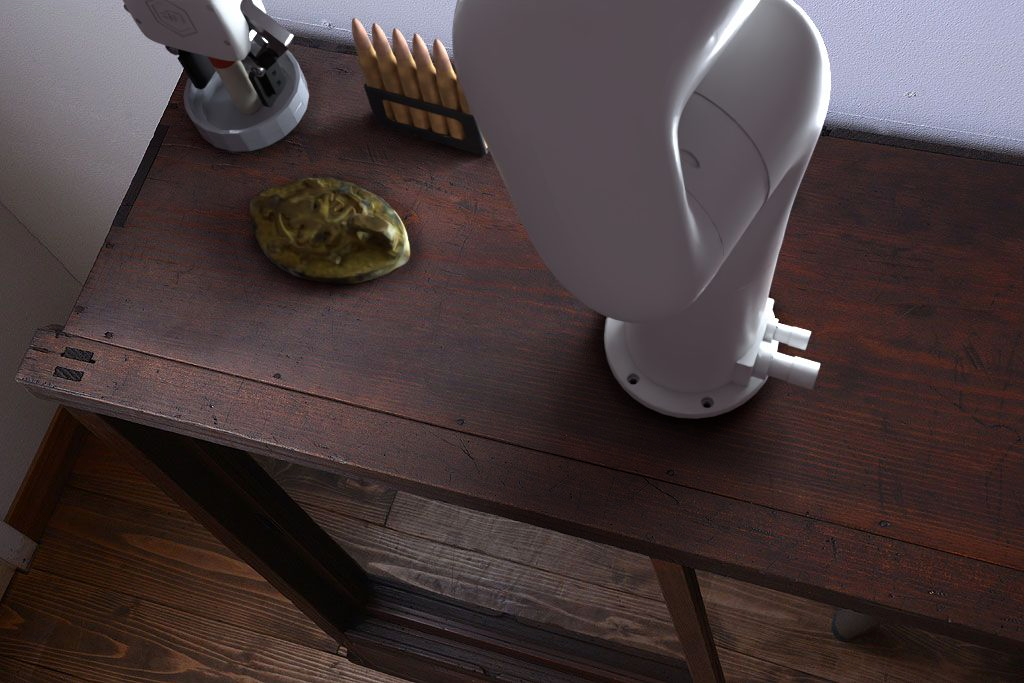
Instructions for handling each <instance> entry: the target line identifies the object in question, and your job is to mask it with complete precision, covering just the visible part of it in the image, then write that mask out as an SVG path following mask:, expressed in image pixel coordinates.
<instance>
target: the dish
mask: <svg viewBox="0 0 1024 683" xmlns="http://www.w3.org/2000/svg"><path fill="white" fill-rule="evenodd" d="M260 49H261V48H260V47H259V46H258V44H257V43H256V42H255V41H254V40H252V42H251V49H250V51H251V52H252V54H253V55H254V56H255V57H256V55H257V54H258V52H259V50H260ZM277 61H278V63H279V65H280V67H281V69H282V72H283V74H284V76H285V78H286V84H285V88H284V90H283V91H282V93H281V94H280V95H279V96H278V97H277V99H276V101H275V102H274V104H273V106H272V107H271V108H269V107H265V106H264V105H263V104H261V107H260V109H259V110H258V111H257V112H255V113H253V114H250V115H245V114H242V113H241V112H240V111H239V110H238V108H237V107H236V105H235V103H234V101H233V99H232V98H231V96H230V94H229V92H228V91H227V89H226V87H225V85H224V84H223V82H222V80H221V78H220V77H219V75H218V73H217V71H216V72H215V73H214V75H213V76H212V78H211V79H210V81H209V82H208V84H207V85H206V87H205V88H203V89H202V90H201V89H197V88H195V86H194V85H193V83H192V81H191V80H190V78H189V77H188V78H187V80H186V84H185V87H184V92H183V102H184V103H183V104H184V110H185V112H186V113H187V115H188V117H189V118H190V120H191V121H192V123H193V124H194V126H195V127H196V129H197V131H198V132H199V134H200V136H201V137H202V138H203V139H204V140H205V141H206V142H208V143H209V144H210V145H212V146H213V147H215V148H216V149H217V148H218V149H221V150H224V151H228V152H232V153H233V152H252V151H256V150H260V149H264V148H267V147H269V146H271V145H274V144H275V143H277V142H279V141H280V140H282V139H285V137H286V136H287V135H288V134H289V133H291V132H292V131H293V130H294V129H295V128H296V127H297V126H298V125H299V123H300V122H301V120H302V118H303V116H305V115H304V114H305V113H306V111H307V109H308V103H309V98H310V93H309V87H308V81H307V79H306V77H305V75H304V73H303V71H302V69H301V67H300V64H299V62H298V60H297V59H296V58H295V57H294V55H293V54H292V52H290V51H289V49H288V50H287V51H286V52H285V53H284V54H283V55H282V56H281V57H279V58H278V59H277ZM241 63H242V64H243V66H244V68H245V70H246V72H247V74H248V75H249V73H250V70H249V69H248V68H247V66H246V65H245V64H244V63H243V62H242V61H241Z"/></svg>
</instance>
